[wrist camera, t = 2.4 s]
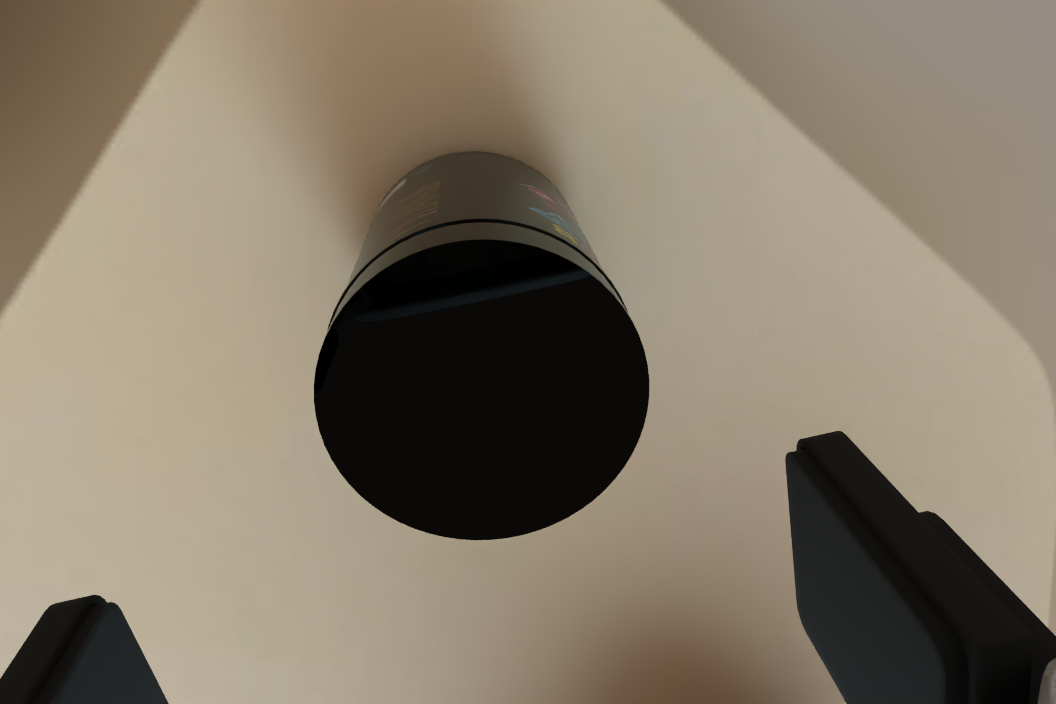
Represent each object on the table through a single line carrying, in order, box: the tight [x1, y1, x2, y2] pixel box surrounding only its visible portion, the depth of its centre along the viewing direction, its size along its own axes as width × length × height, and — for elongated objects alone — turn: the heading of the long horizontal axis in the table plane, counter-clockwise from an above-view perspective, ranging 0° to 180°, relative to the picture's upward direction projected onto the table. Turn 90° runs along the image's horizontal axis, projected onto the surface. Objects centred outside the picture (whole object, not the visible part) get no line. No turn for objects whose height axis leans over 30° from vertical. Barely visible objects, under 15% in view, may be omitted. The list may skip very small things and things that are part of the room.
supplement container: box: [314, 151, 649, 540], centre depth 21 cm, size 7×7×10 cm
